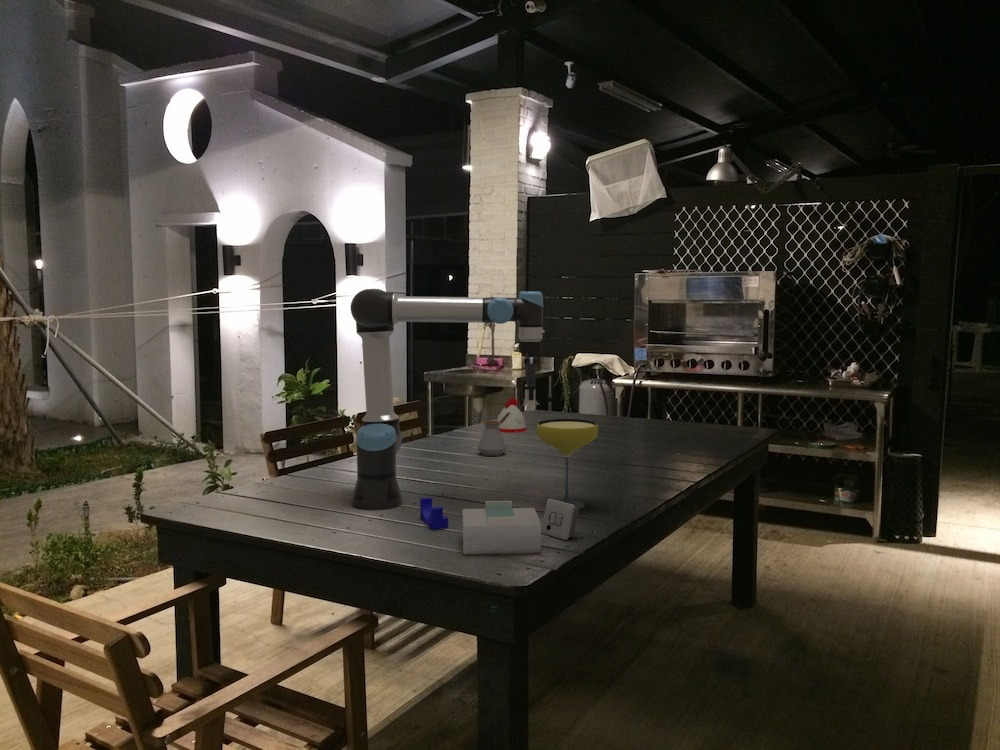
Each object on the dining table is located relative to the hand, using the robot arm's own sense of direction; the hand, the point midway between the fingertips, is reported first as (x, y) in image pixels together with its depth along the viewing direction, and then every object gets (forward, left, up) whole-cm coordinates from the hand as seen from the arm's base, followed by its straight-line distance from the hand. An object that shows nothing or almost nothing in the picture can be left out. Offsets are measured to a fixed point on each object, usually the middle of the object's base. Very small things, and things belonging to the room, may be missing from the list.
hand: (529, 407), depth 258 cm
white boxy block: (-12, -53, -27) cm, 61 cm away
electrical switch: (+4, -47, -28) cm, 54 cm away
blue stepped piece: (-30, -34, -28) cm, 53 cm away
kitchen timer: (+3, +117, -28) cm, 121 cm away
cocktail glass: (+10, -18, -28) cm, 34 cm away
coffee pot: (-6, +65, -28) cm, 71 cm away
